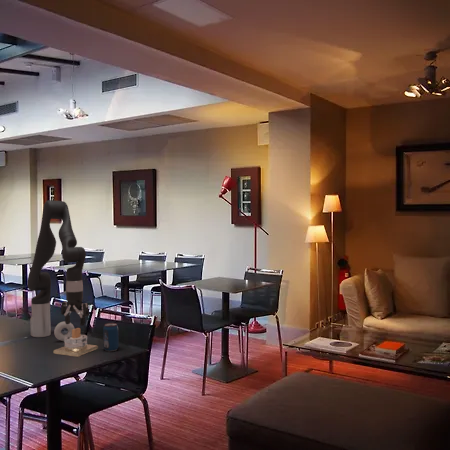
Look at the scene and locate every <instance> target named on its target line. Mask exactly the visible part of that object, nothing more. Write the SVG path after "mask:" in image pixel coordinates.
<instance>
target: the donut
mask: <svg viewBox="0 0 450 450" xmlns="http://www.w3.org/2000/svg"><path fill="white" fill-rule="evenodd" d="M63 329H66V330H67V333H65V334H63V333H62V331H63ZM72 329H75V326H74V324H73V323H72V322H70V324H66V323H65V321H61V322H59V323H57V325H56V326H55V327H54V331H53V334H54V337H55V338H56V339H57V340H58V341H61V342H64V338H65V337H67V336H71V335H72Z"/></svg>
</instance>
